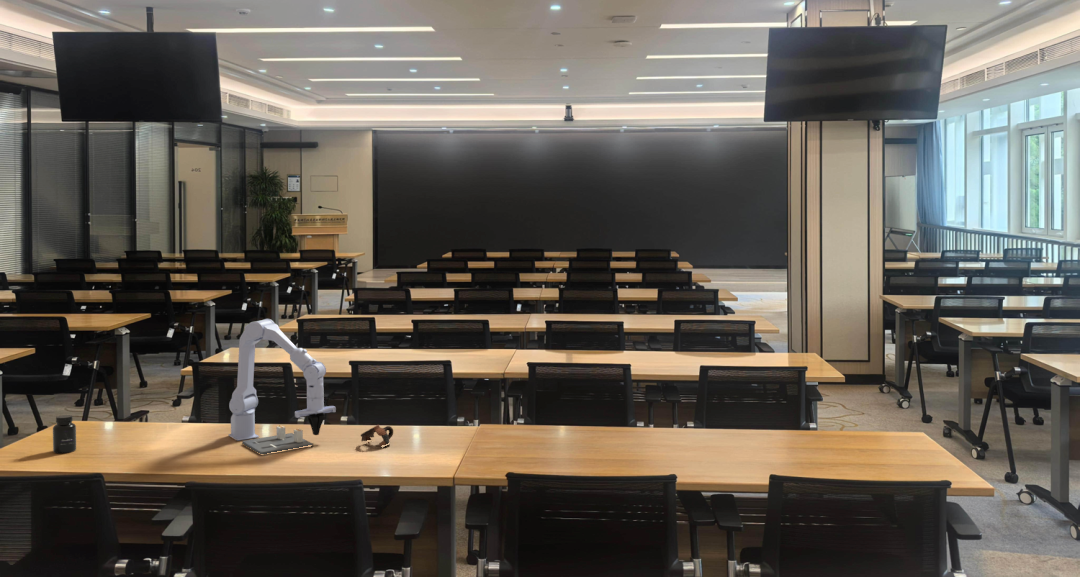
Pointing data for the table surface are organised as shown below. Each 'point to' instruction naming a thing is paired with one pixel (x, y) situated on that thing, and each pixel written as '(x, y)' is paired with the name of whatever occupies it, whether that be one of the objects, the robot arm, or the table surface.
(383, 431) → the brown arched piece
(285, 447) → the console
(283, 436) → the fader
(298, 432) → the fader
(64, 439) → the supplement bottle
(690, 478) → the table surface
